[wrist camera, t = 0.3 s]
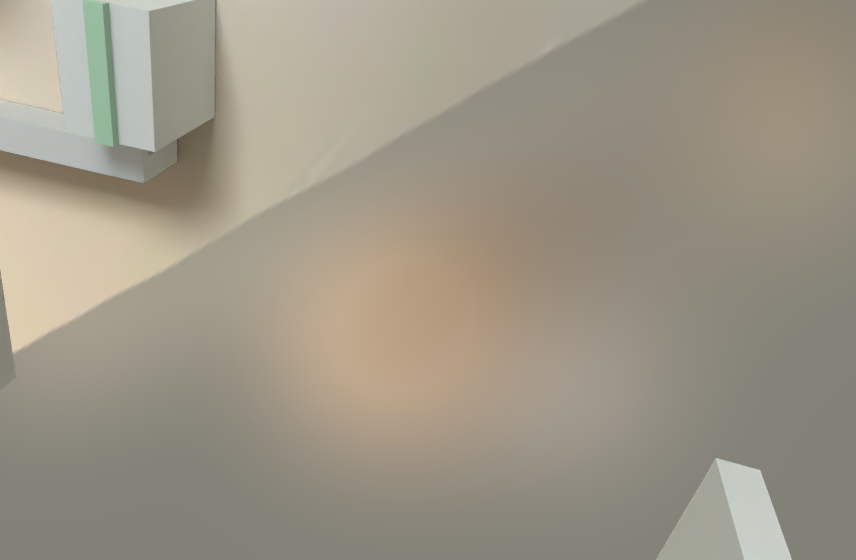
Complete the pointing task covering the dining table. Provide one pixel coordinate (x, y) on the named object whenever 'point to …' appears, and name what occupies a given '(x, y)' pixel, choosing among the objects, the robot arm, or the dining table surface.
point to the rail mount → (121, 86)
